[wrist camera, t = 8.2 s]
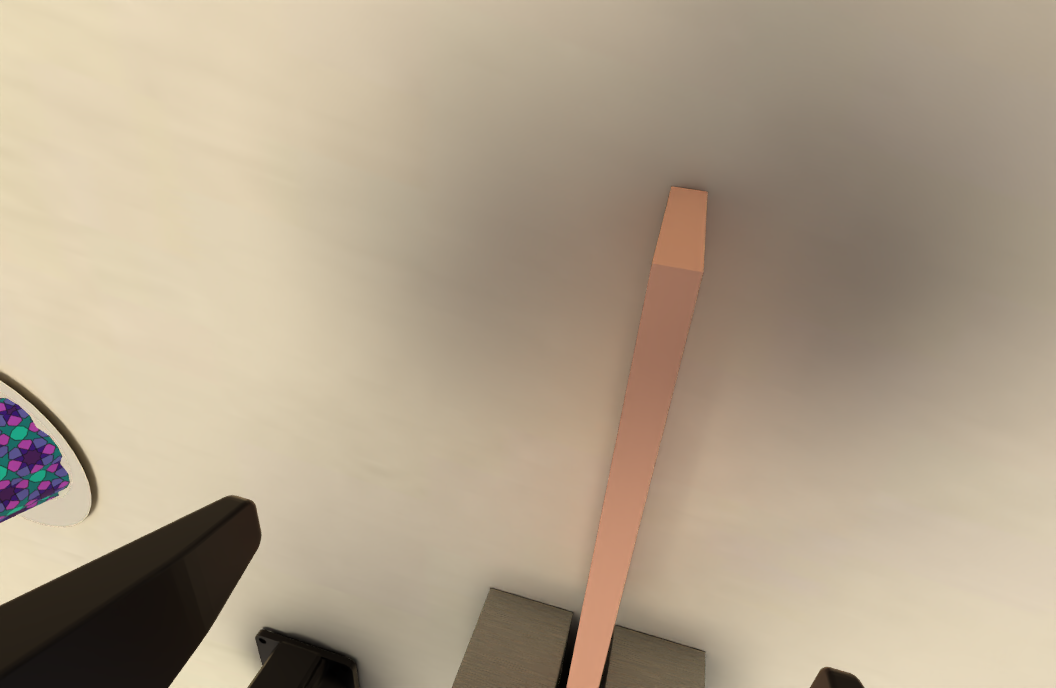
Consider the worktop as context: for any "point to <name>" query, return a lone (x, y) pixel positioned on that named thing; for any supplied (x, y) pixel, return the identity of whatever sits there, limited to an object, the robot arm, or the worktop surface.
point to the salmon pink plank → (642, 422)
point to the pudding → (37, 468)
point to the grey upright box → (539, 648)
